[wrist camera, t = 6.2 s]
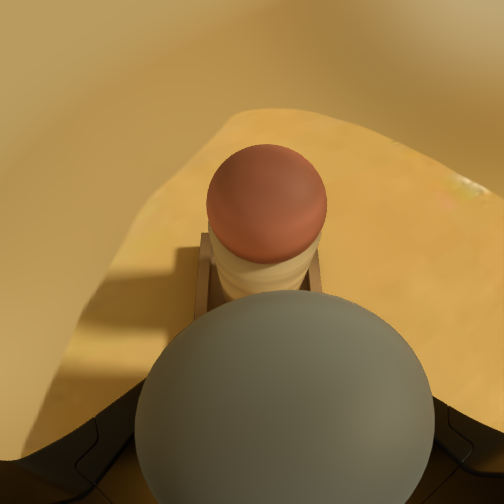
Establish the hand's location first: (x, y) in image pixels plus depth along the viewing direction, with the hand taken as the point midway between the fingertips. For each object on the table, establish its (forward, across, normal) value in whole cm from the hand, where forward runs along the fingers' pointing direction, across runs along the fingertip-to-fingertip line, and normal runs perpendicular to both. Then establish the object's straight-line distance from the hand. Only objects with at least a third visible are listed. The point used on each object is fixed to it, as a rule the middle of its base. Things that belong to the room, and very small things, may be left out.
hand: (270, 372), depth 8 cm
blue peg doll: (+4, 0, +6) cm, 7 cm away
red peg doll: (+12, 0, +3) cm, 13 cm away
